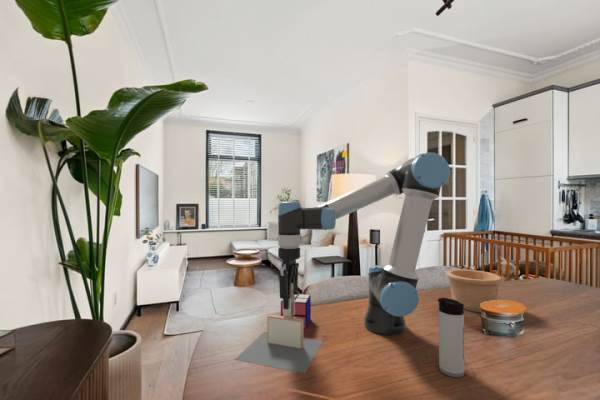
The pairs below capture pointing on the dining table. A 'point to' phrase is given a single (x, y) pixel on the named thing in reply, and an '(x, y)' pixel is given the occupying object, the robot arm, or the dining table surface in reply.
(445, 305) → the travel mug
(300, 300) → the puzzle cube
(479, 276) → the pottery
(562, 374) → the dining table surface
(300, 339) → the tile
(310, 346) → the slate mat
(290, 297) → the tamper
